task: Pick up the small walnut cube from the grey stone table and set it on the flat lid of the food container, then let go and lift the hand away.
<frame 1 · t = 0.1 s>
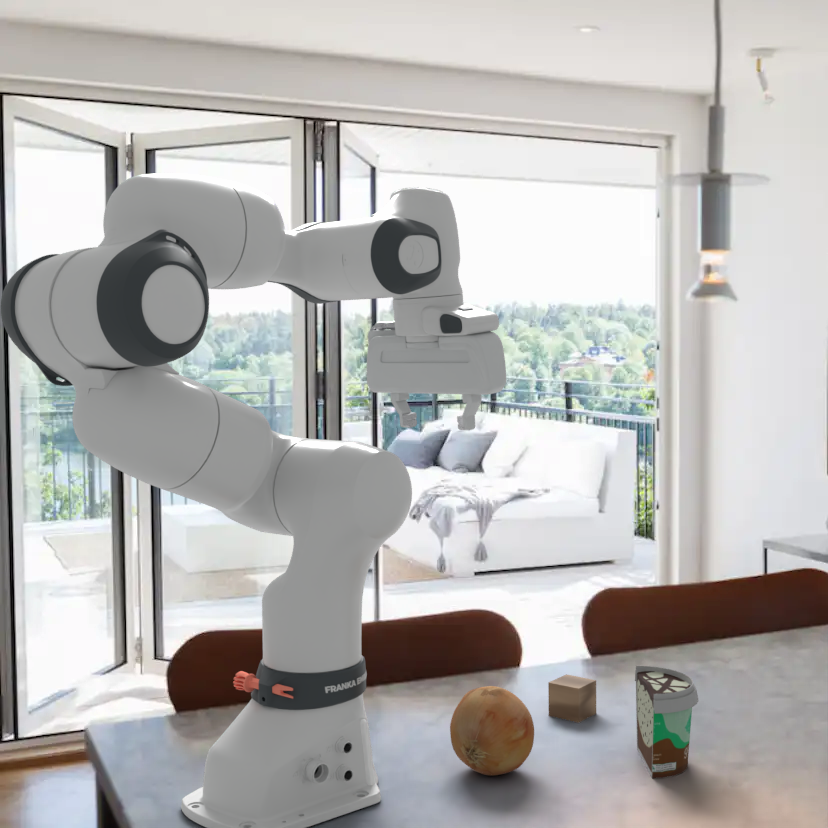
hand: (437, 428, 140), 39 cm above the table, tool pointing down, fingers open, 8 cm apart
walnut block: (572, 715, 146), on the table
food container: (670, 764, 129), on the table
onion: (492, 773, 127), on the table
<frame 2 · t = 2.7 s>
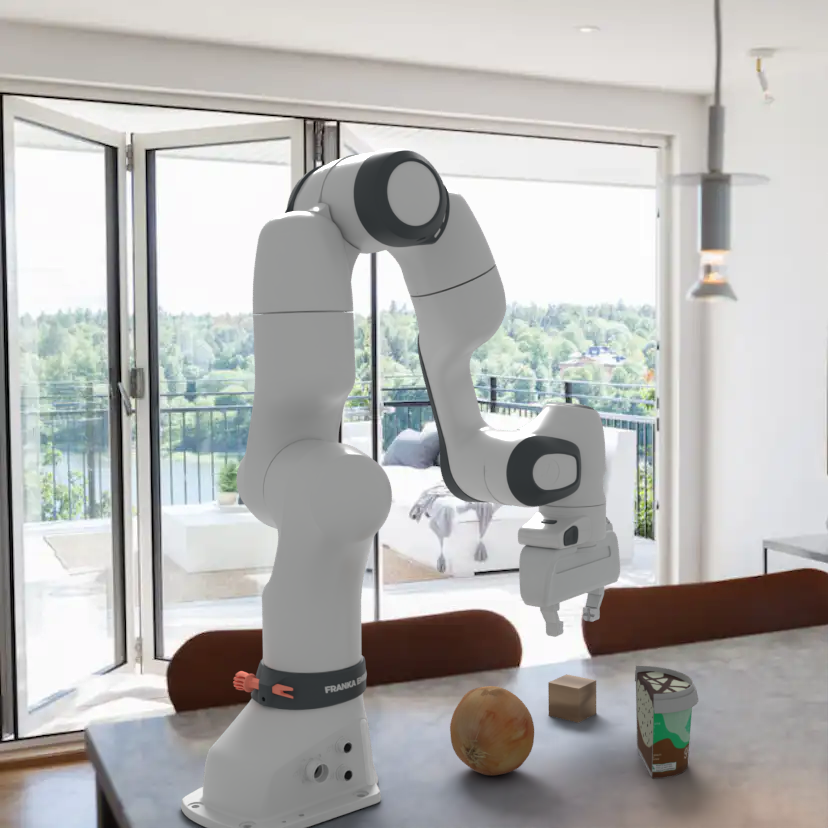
hand: (573, 627, 146), 12 cm above the table, tool pointing down, fingers open, 8 cm apart
nothing on the table moved.
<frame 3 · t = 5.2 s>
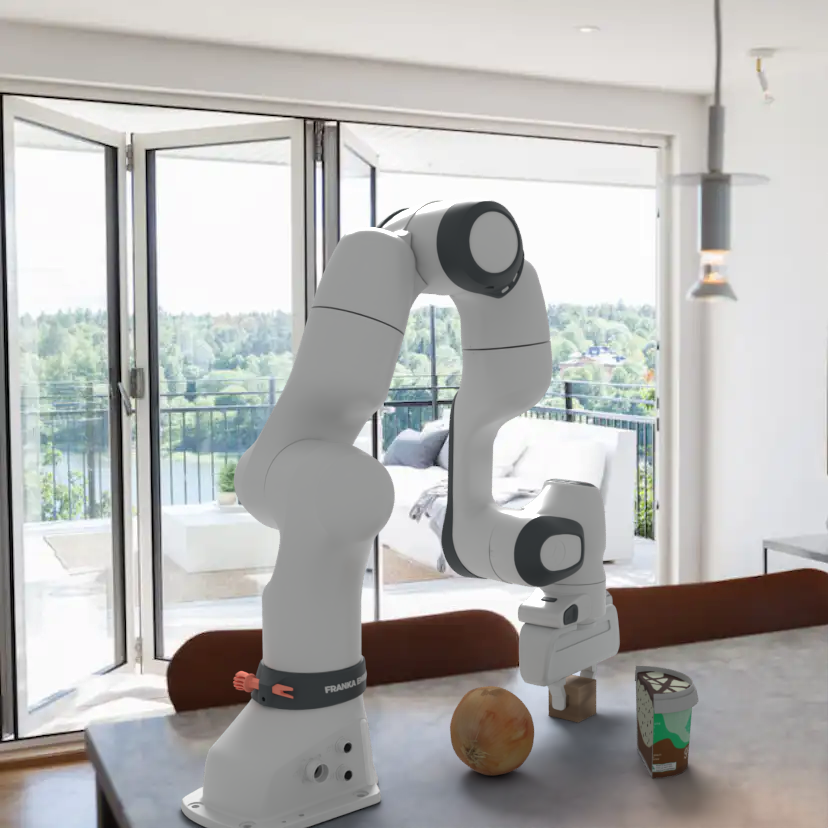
hand: (572, 702, 146), 2 cm above the table, tool pointing down, fingers closed on walnut block, 5 cm apart
walnut block: (572, 714, 146), on the table, touching gripper
everything else where it was.
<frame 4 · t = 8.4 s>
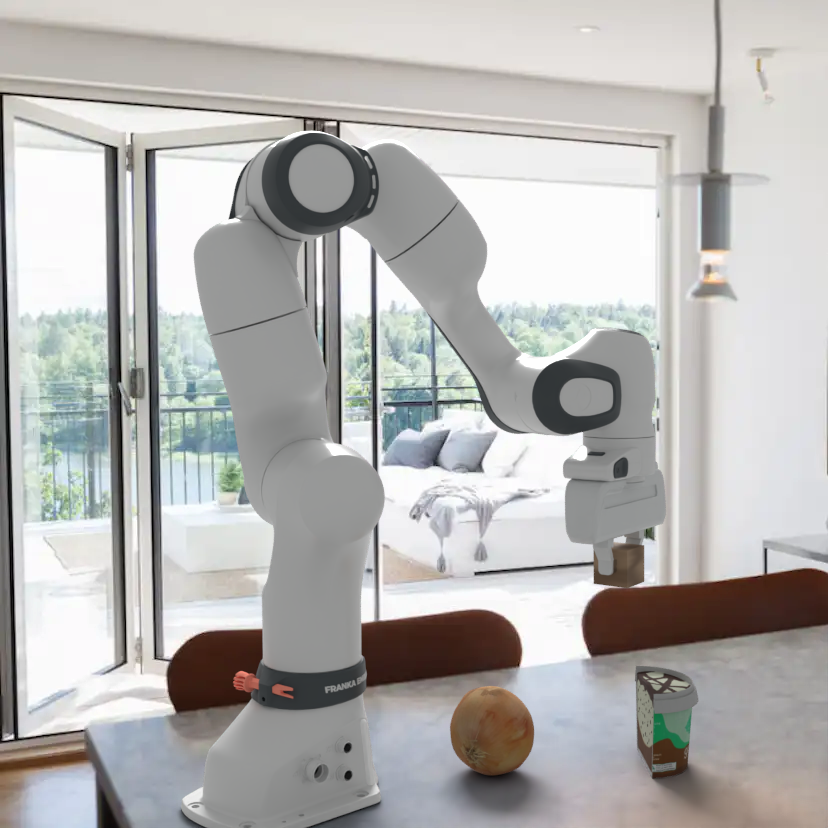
hand: (619, 569, 137), 21 cm above the table, tool pointing down, fingers closed on walnut block, 5 cm apart
walnut block: (619, 582, 137), point 20 cm above the table, touching gripper
everything else where it was.
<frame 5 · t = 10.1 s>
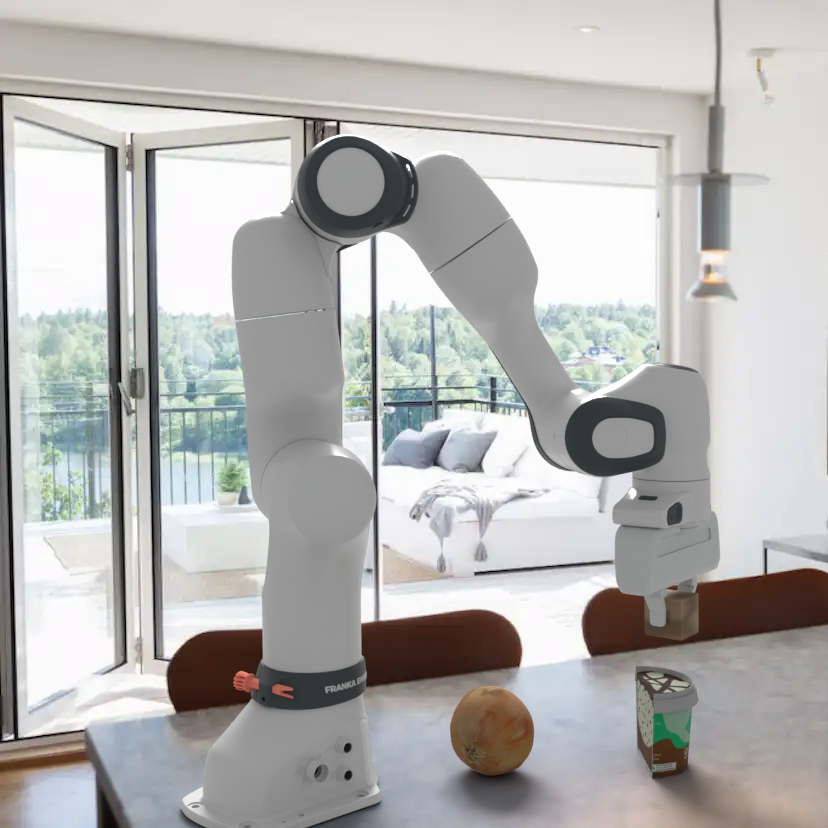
hand: (671, 619, 128), 17 cm above the table, tool pointing down, fingers closed on walnut block, 5 cm apart
walnut block: (671, 633, 128), point 15 cm above the table, touching gripper
everything else where it was.
when the fingers open (13 cm above the table, at t = 11.3 s): walnut block drops 1 cm, resting on food container.
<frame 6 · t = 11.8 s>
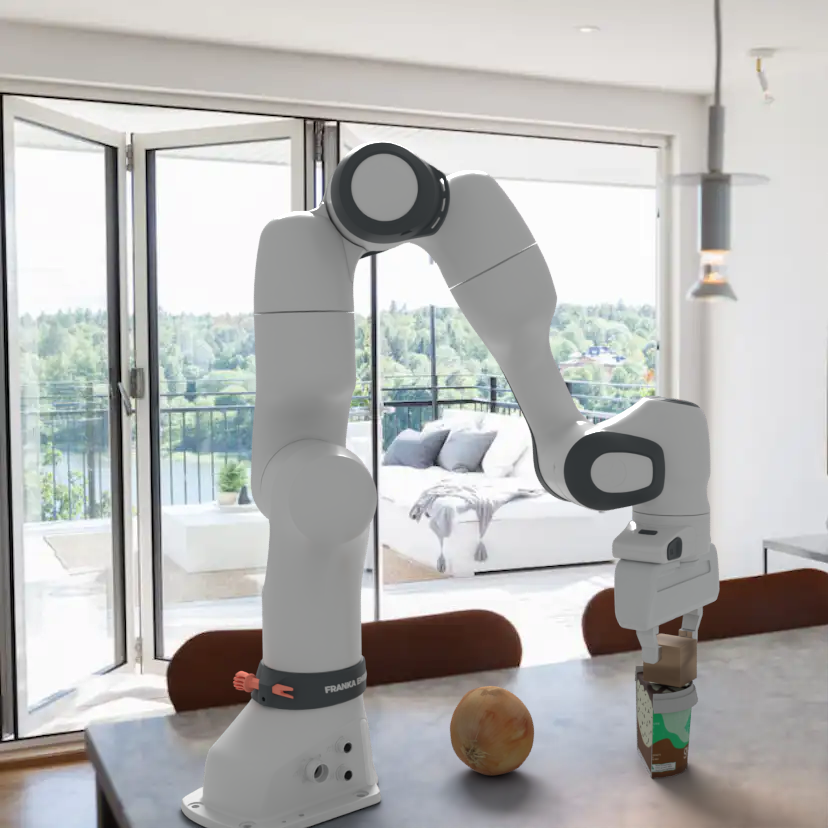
hand: (670, 652, 128), 13 cm above the table, tool pointing down, fingers open, 8 cm apart
walnut block: (670, 679, 128), point 10 cm above the table, touching food container
food container: (670, 764, 129), on the table, touching walnut block
everything else where it was.
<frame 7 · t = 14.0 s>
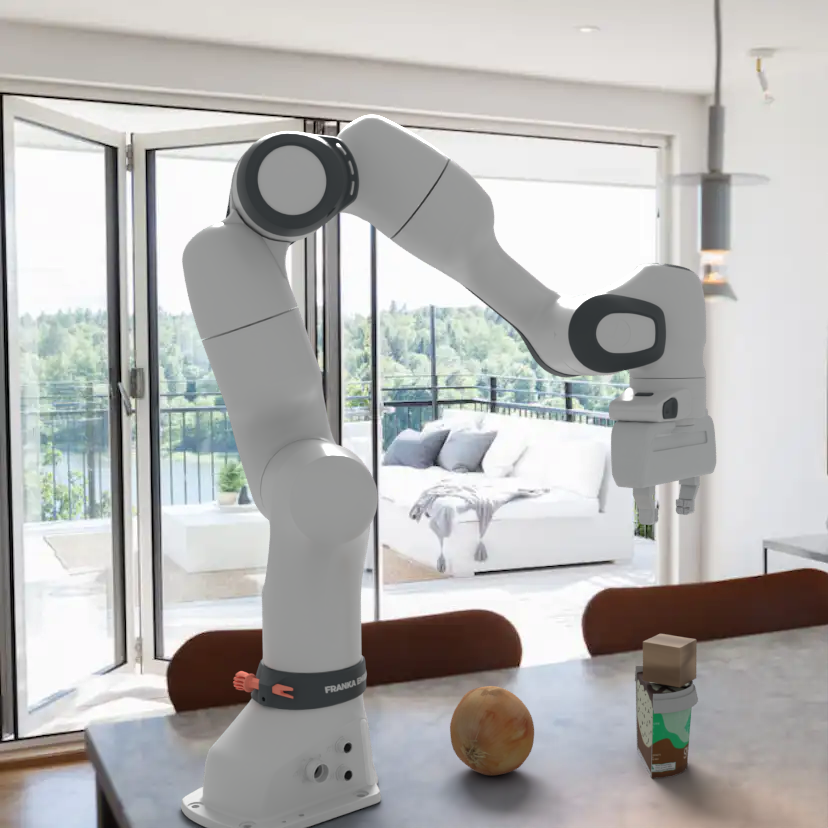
hand: (667, 518, 130), 28 cm above the table, tool pointing down, fingers open, 8 cm apart
nothing on the table moved.
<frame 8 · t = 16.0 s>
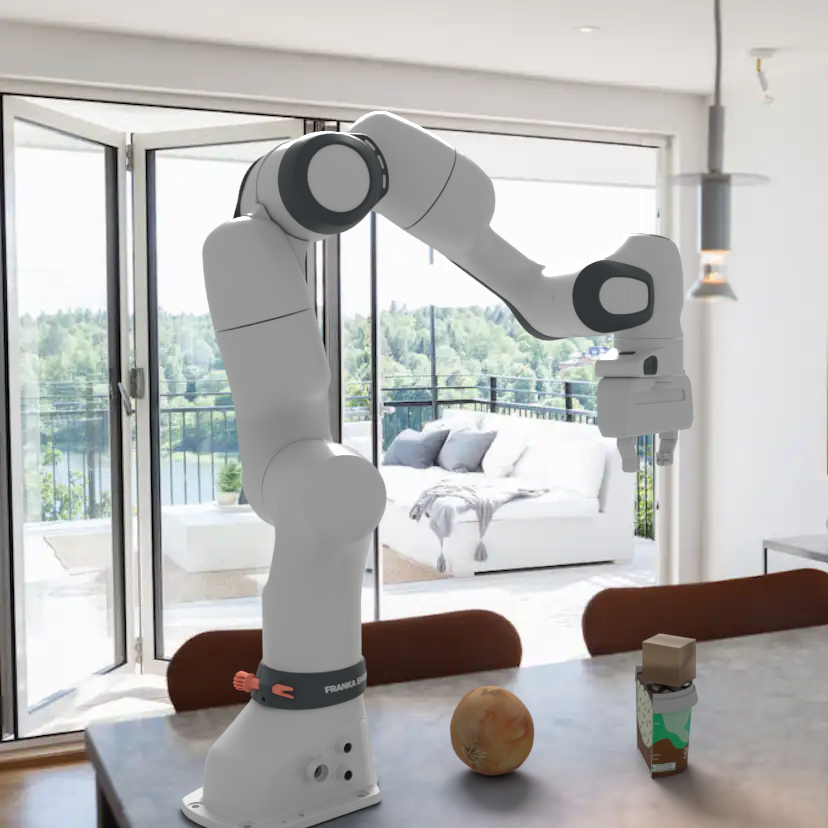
hand: (648, 468, 142), 33 cm above the table, tool pointing down, fingers open, 8 cm apart
nothing on the table moved.
at the end: walnut block inside the target area on the food container (0.1 cm from its centre), point 10.2 cm above the food container's base; walnut block tilted 0°; the gripper is holding nothing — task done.
